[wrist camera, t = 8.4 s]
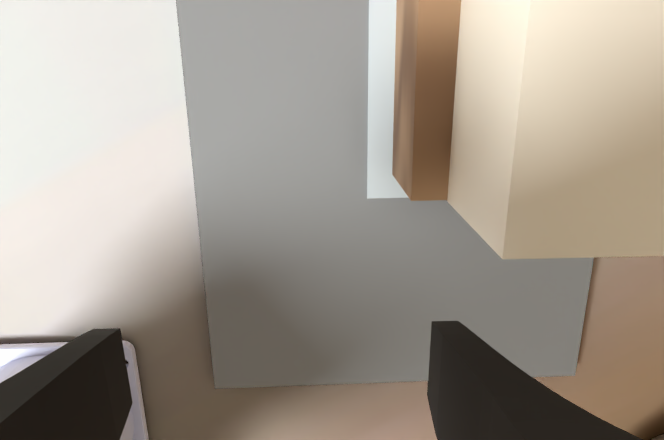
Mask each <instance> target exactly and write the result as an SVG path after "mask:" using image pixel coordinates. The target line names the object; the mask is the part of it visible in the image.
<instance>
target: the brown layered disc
mask: <svg viewBox="0 0 664 440" xmlns="http://www.w3.org/2000/svg"><path fill="white" fill-rule="evenodd" d="M650 440H664V434H662V435H659V436H657V437H654V438H652V439H650Z"/></svg>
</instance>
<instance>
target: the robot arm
mask: <svg viewBox="0 0 664 440" xmlns="http://www.w3.org/2000/svg"><path fill="white" fill-rule="evenodd" d="M126 360H127V361H128V364H126ZM427 396H428V401H429V405H430V410H431V415H432V420H433V424H434V428H435V433H436V436H437V439H438V440H643V439H641V438H638V437H636V436H634V435H632V434H630V433H628V432H626V431H624V430H622V429H619V428H617V427H615V426H613V425H611V424H609V423H608V422H606V421H604V420H602V419H600V418H598V417H596V416H594V415H592V414H591V413H589V412H587V411H585V410H584V409H582V408H580V407H578V406H577V405H575V404H573V403H571V402H570V401H568V400H566V399H565V398H563V397H561V396H560V395H558V394H556V393H555V392H553V391H552V390H550V389H549V388H547V387H546V386H544V385H543V384H541V383H540V382H538V381H537V380H535V379H534V378H532V377H531V376H529V375H528V374H527V373H525V372H524V371H523V370H521V369H520V368H518V367H517V366H516V365H514V364H513V363H512V362H510V361H509V360H508V359H506V358H505V357H504V356H502V355H501V354H500V353H499V352H497V351H496V350H495V349H493V348H492V347H491V346H490V345H488V344H487V343H486V342H485V341H483V340H482V339H481V338H480V337H478V336H477V335H476V334H475V333H473V332H472V331H471V330H470V329H468V328H467V327H466V326H464V325H463V324H462V323H460V322H459V321H432V324H431V341H430V358H429V375H428V392H427ZM0 440H149V438H148V431H147V425H146V418H145V412H144V405H143V399H142V392H141V386H140V379H139V373H138V366H137V360H136V353H135V348H134V346H133V345H132V344H131V343H130V342H128V341H124V340H122V337H121V331H120V329H93V330H91V331H89V332H86V333H84V334H83V335H81V336H79V337H77V338H75V339H74V340H72V341H70V342H55V343H25V344H0Z"/></svg>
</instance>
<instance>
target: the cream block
mask: <svg viewBox="0 0 664 440" xmlns="http://www.w3.org/2000/svg"><path fill="white" fill-rule="evenodd" d="M447 202H448V203H449V204H450V205H451V206H452V207H453V208H454V209H455V210H456V211H457V212H458V213H459V214H460V215H461V217H462V218H463V219H464V220H465V221H466V222H467V223H468V224H469V225H470V226H471V227H472V228H473V229H474V230H475V231H476V232H477V233H478V234H479V235H480V236H481V237H482V239H483V240H484V241H485V242H486V243H487V244H488V245H489V246H490V247H491V248H492V249H493V250H494V251H495V252H496V253H497V254H498V255H499V256H500V257H501V258H502V259H545V258H596V257H646V256H664V0H461V11H460V25H459V40H458V54H457V68H456V83H455V97H454V112H453V126H452V140H451V155H450V169H449V183H448V198H447Z"/></svg>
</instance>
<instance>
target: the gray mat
mask: <svg viewBox="0 0 664 440" xmlns="http://www.w3.org/2000/svg"><path fill="white" fill-rule="evenodd" d="M396 2H397V0H176V6H177V16H178V26H179V36H180V46H181V56H182V66H183V76H184V86H185V96H186V106H187V116H188V126H189V136H190V146H191V156H192V166H193V176H194V186H195V196H196V206H197V216H198V226H199V236H200V246H201V256H202V266H203V276H204V286H205V296H206V306H207V316H208V326H209V336H210V346H211V356H212V366H213V376H214V386H215V389H223V388H251V387H278V386H306V385H333V384H361V383H388V382H416V381H428V375H429V358H430V341H431V324H432V321H459V322H460V323H462V324H463V325H464V326H466V327H467V328H468V329H470V330H471V331H472V332H473V333H475V334H476V335H477V336H478V337H480V338H481V339H482V340H483V341H485V342H486V343H487V344H488V345H490V346H491V347H492V348H493V349H495V350H496V351H497V352H499V353H500V354H501V355H502V356H504V357H505V358H506V359H508V360H509V361H510V362H512V363H513V364H514V365H516V366H517V367H518V368H520V369H521V370H523V371H524V372H525V373H527V374H528V375H529V376H531V377H553V376H575V373H576V367H577V360H578V354H579V348H580V342H581V335H582V329H583V323H584V317H585V310H586V304H587V298H588V292H589V285H590V279H591V273H592V267H593V260H594V258H545V259H502V258H501V257H500V256H499V255H498V254H497V253H496V252H495V251H494V250H493V249H492V248H491V247H490V246H489V245H488V244H487V243H486V242H485V241H484V240H483V239H482V237H481V236H480V235H479V234H478V233H477V232H476V231H475V230H474V229H473V228H472V227H471V226H470V225H469V224H468V223H467V222H466V221H465V220H464V219H463V218H462V217H461V215H460V214H459V213H458V212H457V211H456V210H455V209H454V208H453V207H452V206H451V205H450V204H449V203H448V202H447V200H431V201H411V200H410V199H409V197H408V196H407V194H406V193H405V192H404V190H403V189H402V187H401V186H400V185H399V183H398V182H397V180H396V179H395V177H394V176H393V175H392V162H393V122H394V82H395V42H396Z"/></svg>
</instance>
